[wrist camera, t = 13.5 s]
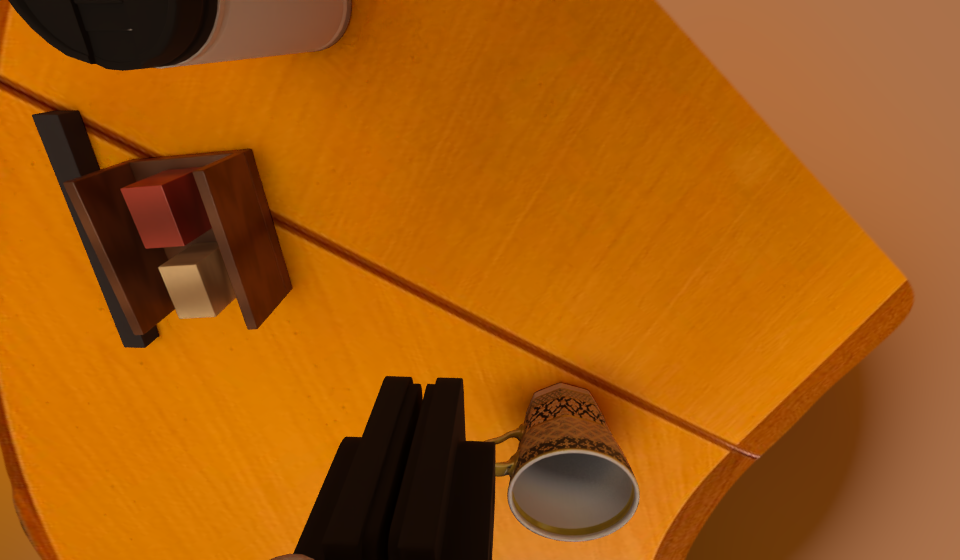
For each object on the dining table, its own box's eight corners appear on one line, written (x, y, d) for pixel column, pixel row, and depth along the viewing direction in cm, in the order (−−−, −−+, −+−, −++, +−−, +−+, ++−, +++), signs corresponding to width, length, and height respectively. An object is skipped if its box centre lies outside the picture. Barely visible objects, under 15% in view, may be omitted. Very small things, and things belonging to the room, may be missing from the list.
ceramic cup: (634, 383, 46) (662, 470, 37) (593, 460, 50) (609, 554, 41) (496, 346, 45) (490, 425, 36) (467, 427, 49) (455, 516, 40)
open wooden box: (130, 159, 39) (62, 182, 33) (251, 148, 38) (203, 170, 32) (184, 295, 45) (134, 335, 39) (292, 288, 44) (257, 329, 38)
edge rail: (54, 110, 38) (31, 114, 36) (78, 110, 38) (57, 114, 36) (139, 335, 47) (124, 347, 45) (159, 335, 47) (145, 348, 45)
